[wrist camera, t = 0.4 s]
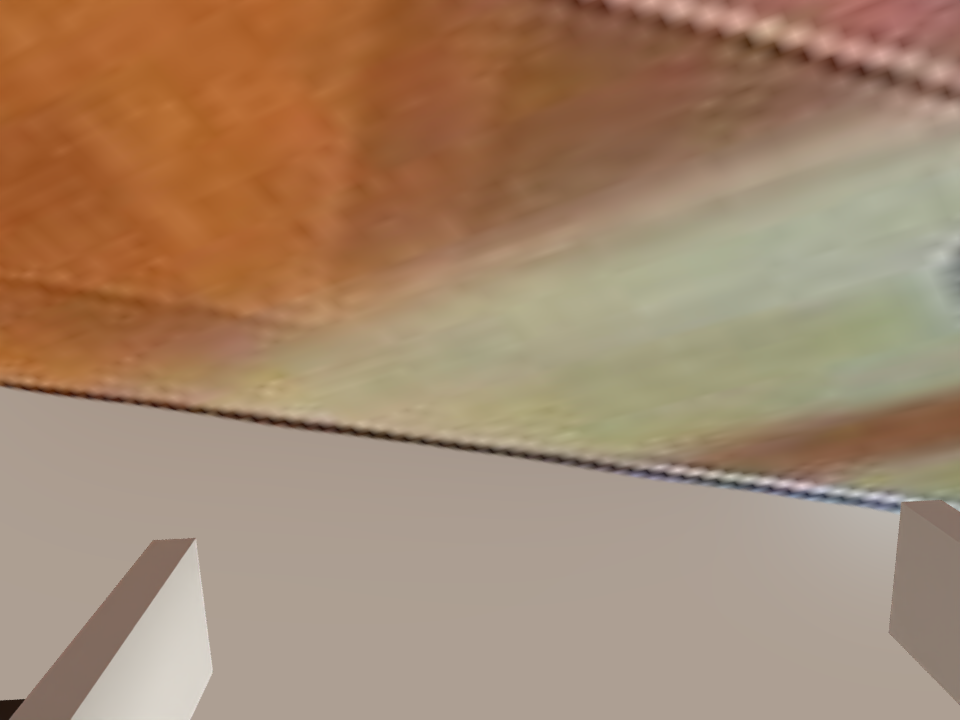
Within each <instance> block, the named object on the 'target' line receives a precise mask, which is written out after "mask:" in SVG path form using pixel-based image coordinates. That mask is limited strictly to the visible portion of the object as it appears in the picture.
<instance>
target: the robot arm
mask: <svg viewBox="0 0 960 720" xmlns="http://www.w3.org/2000/svg"><path fill="white" fill-rule="evenodd" d="M889 633H890V635H891V636H893V638H894V639H895V640H896V641H897V642H898V643H899V644H900V645H901V646H902V647H903V648H904V649H905V650H906V651H907V652H908V653H909V654H910V655H911V656H912V657H913V658H914V659H915V660H916V661H917V662H918V663H919V664H920V665H921V666H922V667H923V668H924V669H925V670H926V671H927V672H928V673H929V674H930V675H931V676H932V677H933V678H934V679H935V680H936V681H937V682H938V683H939V684H940V685H941V686H942V687H943V688H944V690H945V691H946V692H947V693H948V694H949V695H950V696H951V697H953V699H954V700H955V701H956V702H957V703H958V704H959V705H960V512H959V511H957V510H956V509H954V508H953V507H951V506H950V505H948V504H947V503H945V502H944V501H942V500H932V501H913V502H901V513H900V523H899V534H898V544H897V554H896V564H895V574H894V585H893V595H892V605H891V615H890V626H889ZM212 672H213V670H212V662H211V653H210V646H209V637H208V630H207V622H206V615H205V607H204V599H203V591H202V583H201V576H200V567H199V559H198V551H197V544H196V538H191V539H190V538H188V539H170V540H153V541H152V542H151V544H150V545H149V546H148V547H147V549H146V550H145V551H144V552H143V554H142V555H141V556H140V557H139V558H138V560H137V561H136V562H135V563H134V565H133V566H132V567H131V568H130V570H129V571H128V572H127V573H126V575H125V576H124V577H123V578H122V580H121V581H120V582H119V583H118V585H117V586H116V587H115V588H114V590H113V591H112V592H111V593H110V595H109V596H108V597H107V598H106V600H105V601H104V602H103V603H102V605H101V606H100V607H99V608H98V610H97V611H96V612H95V613H94V615H93V616H92V617H91V618H90V619H89V621H88V622H87V623H86V625H85V626H84V627H83V628H82V629H81V631H80V632H79V633H78V634H77V636H76V637H75V638H74V640H73V641H72V642H71V643H70V644H69V646H68V647H67V648H66V649H65V651H64V652H63V653H62V654H61V656H60V657H59V658H58V659H57V661H56V662H55V663H54V665H53V666H52V667H51V668H50V669H49V670H48V672H47V673H46V674H45V675H44V677H43V678H42V679H41V680H40V682H39V683H38V684H37V685H36V687H35V688H34V689H33V690H32V692H31V693H30V694H29V695H28V697H27V698H26V699H20V700H3V701H0V720H190V719H191V717H192V715H193V713H194V711H195V709H196V707H197V704H198V702H199V700H200V698H201V696H202V694H203V692H204V689H205V687H206V685H207V683H208V681H209V679H210V677H211V675H212Z"/></svg>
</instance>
